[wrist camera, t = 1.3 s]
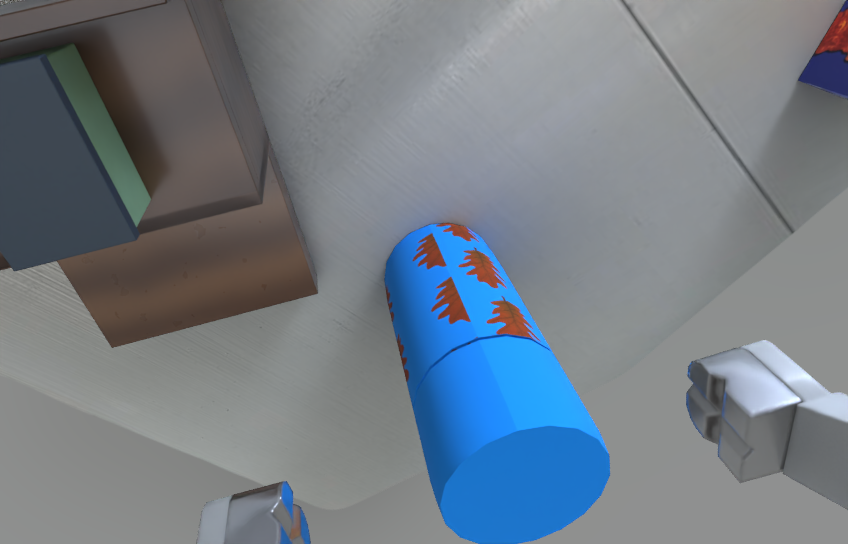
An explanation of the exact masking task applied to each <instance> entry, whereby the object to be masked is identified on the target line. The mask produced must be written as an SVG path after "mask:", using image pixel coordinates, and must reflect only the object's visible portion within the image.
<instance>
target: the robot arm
mask: <svg viewBox="0 0 848 544" xmlns="http://www.w3.org/2000/svg"><path fill="white" fill-rule="evenodd" d="M688 377H689V379H690V380H691V381H692V382H693V385H692V386H691V387H690V389H689V390H688V391H687V395H686V405H687V408H688V412H689V415H690V418H691V420H692V422H693V424H694V425H695V427H696V429H697V430H698V431H699V433H700V434H701V435H702V437H703V438H705V439H707V440H709V441H711V442H713V443H716V444H718V457H719V458H720V459H721V460H722V462H723V463H724V464H725V465H726V467H727V468H728V469H729V470H730V471H731V473H732V474H733V475H734V476H735V478H736V479H737V480H738V481H739V483H742V482H746V481H749V480H753V479H756V478H760V477H764V476H768V475H771V474H775V473H779V472H782V471H783V474H784V475H786V476H788V477H790V478H791V479H793V480H795V481H797V482H799V483H800V484H802V485H804V486H806V487H808V488H809V489H811V490H813V491H815V492H817V493H818V494H820V495H822V496H824V497H826V498H827V499H829V500H831V501H833V502H835V503H836V504H838V505H840V506H842V507H844V508H845V509H847V510H848V395H846V394H843V393H840V392H836V393H833V394H831V393H830V392H829V391H827V390H826V389H825V388H824V387H823V386H822V385H820V384H819V383H818V382H817V381H816V380H814V379H813V378H812V377H811V376H810V375H809V374H808V373H806V372H805V371H804V370H803V369H802V368H801V367H799V366H798V365H797V364H796V363H795V362H794V361H792V360H791V359H790V358H789V357H788V356H786V355H785V354H784V353H783V352H782V351H781V350H780V349H779V348H777V347H776V346H775V345H774V344H772V343H771V342H769V341H766V340H762V341H758V342H755V343H752V344H748V345H745V346H742V347H739V348H734V349H731V350H727V351H724V352H721V353H718V354H714V355H711V356H708V357H704V358H701V359H698V360H694V361H692V362H691V363H690V365H689V366H688ZM196 544H311V541H310V535H309V529H308V524H307V521H306V518H305V515H304V513H303V511H302V509H301V507H300V506H298V505H295V504H293V491H292V490H291V488H290V486H289V484H288V483H287V481H284V482H279V483H276V484H272V485H268V486H264V487H261V488H257V489H253V490H249V491H246V492H242V493H238V494H234V495H232V496H228V497H224V498H221V499H217V500H213V501H210V502H207V503H206V504H205V506H204V508H203V510H202V513H201V519H200V525H199V531H198V537H197V543H196Z"/></svg>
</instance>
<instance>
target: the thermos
mask: <svg viewBox="0 0 848 544" xmlns="http://www.w3.org/2000/svg"><path fill="white" fill-rule="evenodd" d="M384 279H385V286H386V294H387V301H388V306H389V310H390V314H391V318H392V322H393V327H394V331H395V335H396V339H397V343H398V347H399V352H400V356H401V360H402V364H403V368H404V373H405V377H406V381H407V385H408V389H409V394H410V398H411V402H412V406H413V410H414V415H415V419H416V423H417V427H418V431H419V435H420V440H421V444H422V448H423V452H424V456H425V461H426V465H427V469H428V473H429V477H430V482H431V485H432V488H433V491H434V495H435V498H436V501H437V503H438V506H439V509H440V511H441V514H442V516H443V519H444V521H445V524H446V525H447V526H448V527H449V528H450V529H452V530H453V531H454V532H455V533H456V534H457V535H458V536H459V537H461V538H464V539H467V540H469V541H472V542H475V543H478V544H518V543H523V542H528V541H534V540H537V539H539V538H542V537H544V536H546V535H549V534H551V533H553V532H556V531H558V530H561V529H562V528H564V527H565V526H567V525H568V524H570V523H571V522H573V521H574V520H576V519H577V518H579V517H580V516H582V515H583V514H584V513H585V512H586V511H587V510H588V509H589V508H590V507H591V506H592V504H593V503H594V502H595V501H596V500H597V499H598V498H599V497H600V496H601V494H602V492H603V490H604V487H605V485H606V483H607V481H608V478H609V476H610V460H609V454H608V451H607V449H606V446H605V444H604V441H603V439H602V437H601V434H600V432H599V430H598V428H597V427H596V425H595V423H594V422H593V420H592V418H591V417H590V415H589V413H588V412H587V410H586V408H585V407H584V405H583V403H582V401H581V400H580V398H579V396H578V395H577V393H576V391H575V390H574V388H573V386H572V384H571V383H570V381H569V379H568V378H567V376H566V374H565V373H564V371H563V369H562V368H561V366H560V364H559V362H558V361H557V359H556V357H555V356H554V354H553V352H552V351H551V349H550V347H549V346H548V344H547V342H546V341H545V339H544V337H543V335H542V334H541V332H540V330H539V329H538V327H537V325H536V324H535V322H534V320H533V319H532V317H531V315H530V313H529V312H528V310H527V308H526V307H525V305H524V303H523V302H522V300H521V298H520V297H519V295H518V293H517V292H516V290H515V288H514V286H513V285H512V283H511V281H510V280H509V278H508V276H507V275H506V273H505V271H504V270H503V268H502V266H501V265H500V263H499V262H498V260H497V259H496V257H495V256H494V254H493V253H492V251H491V250H490V249H489V247H488V246H487V245H486V243H485V242H484V241H483V239H482V238H481V236H479V235H478V234H476V233H475V232H473V231H472V230H470V229H469V228H467V227H464V226H460V225H455V224H451V223H442V224H433V225H427V226H425V227H423V228H421V229H418V230H416V231H414V232H411V233H410V234H409V235H407V236H406V237H405V238H404V239H403V240H402V241H401V242H400V243H398V244H397V245H396V246H395V248H394V250H393V252H392V253H391V255H390V257H389V259H388V261H387V263H386V271H385V278H384Z"/></svg>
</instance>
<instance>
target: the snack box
mask: <svg viewBox="0 0 848 544" xmlns="http://www.w3.org/2000/svg"><path fill="white" fill-rule="evenodd" d="M150 201H151V198H150V196H149V194H148V192H147V190H146V188H145V186H144V184H143V182H142V180H141V178H140V176H139V174H138V172H137V170H136V168H135V166H134V164H133V162H132V160H131V157H130V155H129V153H128V151H127V149H126V147H125V145H124V143H123V141H122V139H121V137H120V135H119V133H118V131H117V129H116V127H115V125H114V123H113V121H112V119H111V117H110V115H109V113H108V111H107V109H106V107H105V105H104V103H103V101H102V99H101V97H100V95H99V93H98V91H97V89H96V87H95V85H94V83H93V81H92V79H91V77H90V75H89V73H88V71H87V69H86V67H85V65H84V63H83V61H82V59H81V57H80V55H79V53H78V51H77V49H76V46H75V44H74V43H68V44H64V45H60V46H55V47H51V48H47V49H43V50H38V51H34V52H30V53H25V54H21V55H17V56H12V57H8V58H4V59H0V252H1V253H2V255H3V256H4V258H5V259H6V260H7V262H8V263H9V265H10V266H11V268H12V269H13V271H18V270H22V269H26V268H30V267H34V266H38V265H42V264H46V263H50V262H54V261H57V260H61V259H65V258H69V257H73V256H77V255H81V254H85V253H89V252H93V251H97V250H101V249H105V248H109V247H113V246H117V245H121V244H124V243H128V242H132V241H136V240H137V239H138V237H139V235H140V233H139V231H138V229H137V226H138V224H139V222H140V220H141V218H142V216H143V214H144V212H145V210H146V208H147V207H148V205H149V203H150Z"/></svg>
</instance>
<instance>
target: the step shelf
mask: <svg viewBox="0 0 848 544" xmlns="http://www.w3.org/2000/svg"><path fill="white" fill-rule="evenodd" d="M68 43H74V44H75V46H76V49H77V51H78V53H79V55H80V57H81V59H82V61H83V63H84V65H85V67H86V69H87V71H88V73H89V75H90V77H91V79H92V81H93V83H94V85H95V87H96V89H97V91H98V93H99V95H100V97H101V99H102V101H103V103H104V105H105V107H106V109H107V111H108V113H109V115H110V117H111V119H112V121H113V123H114V125H115V127H116V129H117V131H118V133H119V135H120V137H121V139H122V141H123V143H124V145H125V147H126V149H127V151H128V153H129V155H130V157H131V160H132V162H133V164H134V166H135V168H136V170H137V172H138V174H139V176H140V178H141V180H142V182H143V184H144V186H145V188H146V190H147V192H148V194H149V196H150V198H151V201H150V203H149V205H148V207H147V208H146V210H145V212H144V214H143V216H142V218H141V220H140V222H139V224H138V226H137V229H138V231H139V233H140V235H139V237H138V239H137V240H136V241H132V242H128V243H124V244H121V245H117V246H113V247H109V248H105V249H101V250H97V251H93V252H89V253H85V254H81V255H77V256H73V257H69V258H65V259H61V260H57V262H58V264H59V265H60V267H61V268H62V270H63V271H64V273H65V275H66V276H67V278H68V279H69V281H70V282H71V284H72V286H73V287H74V289H75V290H76V292H77V293H78V295H79V297H80V298H81V300H82V301H83V303H84V305H85V306H86V308H87V309H88V311H89V312H90V314H91V316H92V317H93V319H94V320H95V322H96V323H97V325H98V327H99V328H100V330H101V331H102V333H103V334H104V336H105V338H106V339H107V341H108V342H109V344H110V345H111V347H112V348H113V347H117V346H121V345H125V344H129V343H132V342H136V341H140V340H144V339H147V338H151V337H155V336H159V335H163V334H166V333H170V332H174V331H178V330H182V329H185V328H189V327H193V326H197V325H201V324H204V323H208V322H212V321H216V320H220V319H223V318H227V317H231V316H235V315H238V314H242V313H246V312H250V311H254V310H257V309H261V308H265V307H269V306H273V305H276V304H280V303H284V302H288V301H292V300H295V299H299V298H303V297H307V296H310V295H314V294H318V285H317V274H316V272H315V269H314V266H313V263H312V260H311V257H310V254H309V252H308V249H307V246H306V243H305V240H304V237H303V234H302V231H301V229H300V226H299V223H298V220H297V217H296V214H295V211H294V209H293V206H292V203H291V200H290V197H289V194H288V191H287V188H286V186H285V183H284V180H283V177H282V174H281V171H280V168H279V166H278V163H277V160H276V157H275V154H274V151H273V148H272V146H271V143H270V140H269V137H268V134H267V131H266V128H265V125H264V123H263V120H262V117H261V114H260V111H259V108H258V105H257V102H256V100H255V97H254V94H253V91H252V88H251V85H250V82H249V80H248V77H247V74H246V71H245V68H244V65H243V62H242V59H241V57H240V54H239V51H238V48H237V45H236V42H235V39H234V37H233V34H232V31H231V28H230V25H229V22H228V19H227V17H226V14H225V11H224V8H223V5H222V2H221V0H22V1H18V2H13V3H9V4H5V5H0V59H4V58H8V57H12V56H17V55H21V54H25V53H30V52H34V51H38V50H43V49H47V48H51V47H55V46H60V45H64V44H68ZM8 268H11V266H10V265H9V263H8V262H7V260H6V259H5V258H4V256H3V255H2V253H1V252H0V270H4V269H8Z"/></svg>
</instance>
